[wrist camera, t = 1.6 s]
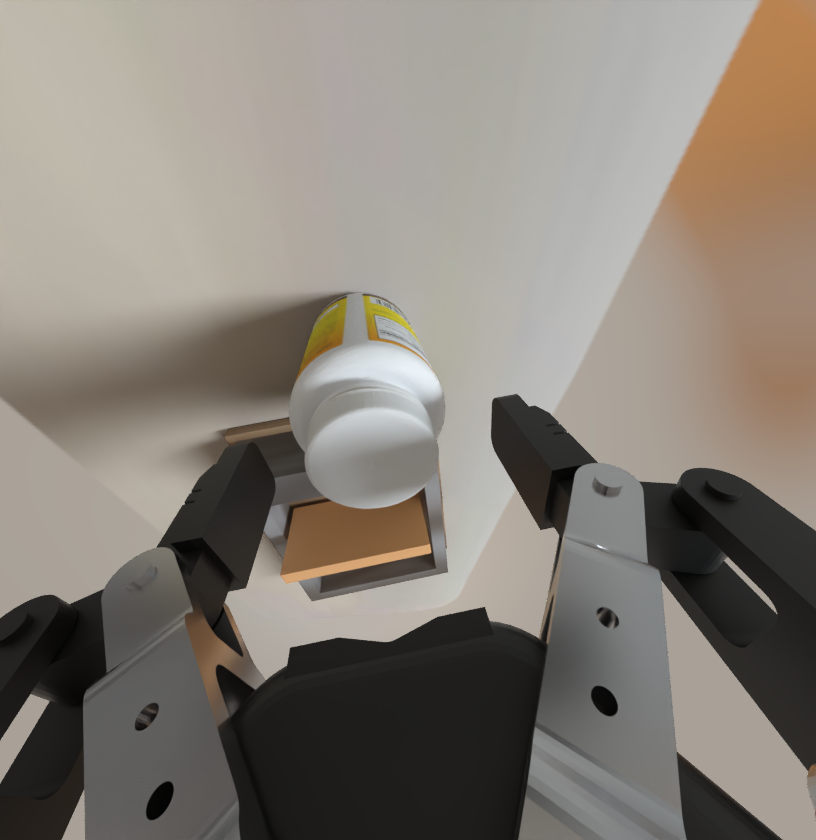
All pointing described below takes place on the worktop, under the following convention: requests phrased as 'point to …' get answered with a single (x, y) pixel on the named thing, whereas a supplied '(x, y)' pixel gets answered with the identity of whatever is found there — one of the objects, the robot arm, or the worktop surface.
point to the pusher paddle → (352, 538)
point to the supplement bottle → (366, 405)
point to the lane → (300, 492)
